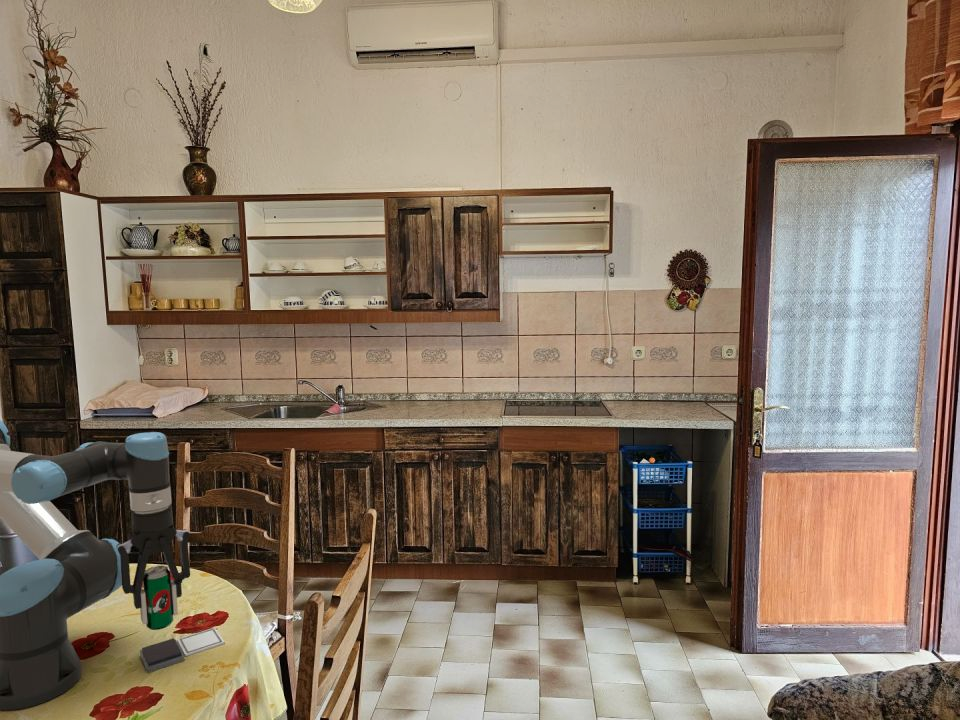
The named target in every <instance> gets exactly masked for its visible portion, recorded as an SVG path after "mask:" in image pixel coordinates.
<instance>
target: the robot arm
mask: <svg viewBox="0 0 960 720" xmlns="http://www.w3.org/2000/svg"><path fill="white" fill-rule="evenodd" d="M7 433H9V430H8V428H7V425H5V423H4V422H3V421H2V420H1V419H0V519H1V521H2V522H4V524H6V526H7V527H8V528H9V529H10V530H11V531H12V532H13V534H15V536H17V538H18V539H19V540H20V541H22V543H23V544H24V545H25V546H26V548H28V549H29V550H30V551H31V552H32V553H33V554H34V556H35V557H36V558H37V559H35V560H31V561H30V562H28V563H21V564H19V565H17V566H16V565H15V566H14V567H12V568H10V569H8V570H6V571H4V572H3V573H1V574H0V711H15V710H21V709H27V708H30V707H34V706H36V705H40V704H43V703H45V702H48V701H50V700H53V699H55V698H57V697H58V696H61V695H62V694H65V692H67V691H69V690H70V689H71V688H73V686H75V685H76V683H78V682H79V680H80V679H81V677H82V674H83V673H82V663H81V658H79V656H78V653H77V652H76V650H75V648H74V646H73V644H72V643H71V641H70V639H69V633H68V632H69V631H68V619H69V618H70V617H73V616H74V615H76V614H79V613H80V612H81V611H84V610H85V609H87V608H89V607H90V606H92V605H94V604H96V603H97V602H100V601H101V600H103V599H106V598H108V597H109V596H110V595H111V594H112V593H114V592H116V591H117V590H119V588H122V590H123V593H124V594H125V595H128V594H133V595H132V596H133V605H134V608H135V609H136V610H138V609H140V621H141V622H142V624H143V625H146V624H148V623H147V610H146V596H145V591H144V588H143V579H144V574H145V570H147V565H148V561H149V558H150V556H151V555H154V554H156V553H157V554H158V553H162V554H163V557H164V560H165V562H166V566H167V567H168V570H169V571H170V576H171V577H172V579H173V580H171V592H172V606H173V617H174V616H178V615H179V611H178V610H179V609H178V598H181V597H182V595H183V592H182V589H183V587H182V583H183V580H185V579H189V578H190V576H191V569H190V567H191V566H190V557H189V546H188V545H189V543H188V542H189V540H190V536H191V534H190V532H189V531H188V529H186V528H185V529H182V530H180V529H176V528H175V526H174V518H173V507H172V506H171V505H172V503H173V502H172V489H171V481H170V457H169V456H170V451H169V449H168V448H169V447H168V440H167V437H166V435H165V434H164V433H162V432H157V431H150V432H139V433H134V434H131V435H129V436H127V437H126V439H125V442H107V441H95V442H86V443H83V444H81V445H80V446H79V447H78V448H76V449H75V450H73V451H69V452H66V453H61V454H58V455H53V456H52V455H51V456H50V455H43V454H42V455H41V454H35V453H29V452H21V451H14V450H11V448H10V446H11V436H10V435H9V434H7ZM109 480H117V481H119V480H120V481H128V491H129V505H130V507H129V508H130V510H131V511H132V512H131V514H130V519H131V531H132V533H131V535H130V538H129V540H127V541H125V542H123V543H120V542H118V541H117V540H115V539H114V538H102V539H98V538H97V536H95V535H94V534H93V533H92V531H90V530H88V529H85V530H84V529H83V530H81V529H80V530H79V529H77V528H76V527H75V525H73V524H72V523H71V522H70V521H69V519H67V518H66V516H65V515H64V514H63V513H62V512H61V511H60V510H59V509H58V508H57V507H56V506H55V505H54V504H53V503H52V502H51V501H52V500H55V499H57V498H59V497H62V496H64V495H67V494H70V493H72V492H75V491H79V490H81V489H84V488H87V487H90V486H93V485H96V484H99V483H103V482H104V481H109ZM175 537H176V539H177V541H178V546H179V558H180V568H181V570H180V572H179V570H178V566H177V565H176V562H175V560H174V557H173V554H172V551H171V549H170V547H169V546H170V545H171V543H172V542H173V540H174V539H175ZM132 546H133V547H134V548H136V550H138V551H139V552H138V559H137V564H136V569H135V574H134V578H133V582H132V584H131V572H130V571H131V570H130V569H131V568H130V557H129V553H130V552H132V551H131V548H132Z"/></svg>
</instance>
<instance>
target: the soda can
mask: <svg viewBox="0 0 960 720" xmlns="http://www.w3.org/2000/svg"><path fill="white" fill-rule="evenodd" d="M171 581H172V580H171V572H170V570H169V567H168V565H163V564H162V565H161V564H160V565H154V566H151V567H148V568H146V570H145V574H144V579H143V584H142V588H143V590H144V591H145V596H146V610H147V623H148V624H145V625H146V627H147V628H148V629H149V630H152V631H159V630H163V629H165V628H167V627H169V626H170V625H171V624H172V623H173V622H174V615H173V606H172V592H171Z"/></svg>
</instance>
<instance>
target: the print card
mask: <svg viewBox="0 0 960 720" xmlns="http://www.w3.org/2000/svg"><path fill="white" fill-rule="evenodd" d="M176 641H177V643H178V645H179V647H180V648H181V650H182V652H183V654H184V658H186V657H189V656H191V655H195V654H199V653H201V652H203V651H207V650H210V649H214V648H217V647H219V646H223V645H225V644H226V642H225V640H224V638H223V637H222V636H221V634H220V632H219V631H218V630H217V628H216V627H212V628H209V629H206V630H203V631H199V632H197V633H193V634H188V635H186V636H183V637H180V638H177V639H176Z"/></svg>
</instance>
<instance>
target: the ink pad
mask: <svg viewBox="0 0 960 720" xmlns="http://www.w3.org/2000/svg"><path fill="white" fill-rule="evenodd" d="M139 657H140V659H141V662H142V664H143V666H144V669H145V671H146V674H149V673H151V672H155V671H158V670H160V669H164V668H167V667H170V666H173V665H175V664H178V663H181V662H185V655H184V653H183V651H182V649H181V648H180V646H179V644H178V642H177V639H175V638H174V637H173V638H170V639H167V640H163V641H160V642H157V643H154V644H151V645H147V646H145V647H141V649H140V650H139Z"/></svg>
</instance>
